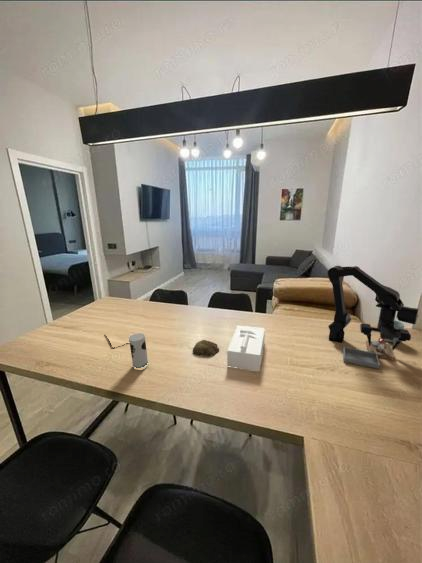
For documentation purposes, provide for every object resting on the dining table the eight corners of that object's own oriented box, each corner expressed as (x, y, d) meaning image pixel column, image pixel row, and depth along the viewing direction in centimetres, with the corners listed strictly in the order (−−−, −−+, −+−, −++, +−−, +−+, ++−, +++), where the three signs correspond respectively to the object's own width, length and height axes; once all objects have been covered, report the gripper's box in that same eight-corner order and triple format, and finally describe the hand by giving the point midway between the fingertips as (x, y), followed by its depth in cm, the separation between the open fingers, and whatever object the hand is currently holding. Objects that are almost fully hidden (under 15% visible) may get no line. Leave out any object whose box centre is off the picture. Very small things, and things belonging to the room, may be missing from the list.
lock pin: (376, 354, 114) (379, 340, 112) (375, 351, 117) (378, 337, 115) (384, 356, 113) (387, 342, 111) (383, 352, 116) (386, 338, 113)
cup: (403, 345, 121) (407, 327, 118) (386, 343, 123) (389, 326, 120) (395, 337, 128) (399, 320, 126) (379, 336, 130) (382, 319, 127)
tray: (343, 362, 109) (344, 357, 109) (342, 351, 118) (343, 346, 117) (379, 369, 104) (380, 364, 103) (375, 357, 112) (376, 353, 111)
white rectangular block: (264, 342, 128) (265, 324, 125) (259, 372, 105) (260, 350, 102) (237, 339, 132) (237, 321, 129) (227, 367, 109) (227, 346, 106)
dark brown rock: (189, 353, 121) (188, 344, 119) (201, 341, 131) (201, 333, 130) (212, 359, 115) (211, 350, 113) (223, 347, 125) (222, 338, 124)
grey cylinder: (149, 361, 115) (146, 333, 110) (146, 370, 108) (142, 340, 104) (135, 361, 115) (131, 333, 111) (131, 370, 108) (126, 341, 104)
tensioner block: (368, 355, 114) (369, 350, 113) (365, 342, 124) (366, 338, 124) (394, 360, 110) (395, 355, 109) (389, 346, 120) (390, 342, 119)
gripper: (364, 321, 107) (359, 351, 111) (418, 328, 99) (410, 361, 103) (362, 311, 116) (357, 340, 121) (410, 318, 108) (403, 348, 113)
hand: (381, 347), depth 114 cm, fingers open, 9 cm apart
